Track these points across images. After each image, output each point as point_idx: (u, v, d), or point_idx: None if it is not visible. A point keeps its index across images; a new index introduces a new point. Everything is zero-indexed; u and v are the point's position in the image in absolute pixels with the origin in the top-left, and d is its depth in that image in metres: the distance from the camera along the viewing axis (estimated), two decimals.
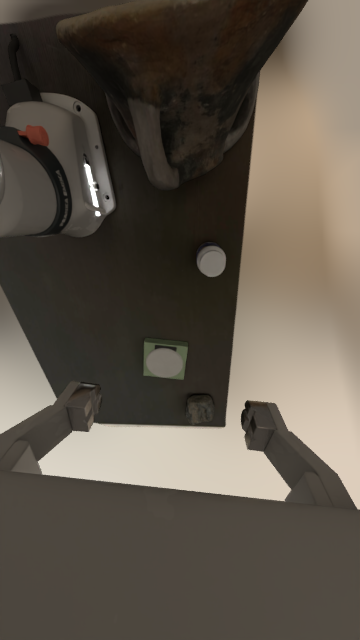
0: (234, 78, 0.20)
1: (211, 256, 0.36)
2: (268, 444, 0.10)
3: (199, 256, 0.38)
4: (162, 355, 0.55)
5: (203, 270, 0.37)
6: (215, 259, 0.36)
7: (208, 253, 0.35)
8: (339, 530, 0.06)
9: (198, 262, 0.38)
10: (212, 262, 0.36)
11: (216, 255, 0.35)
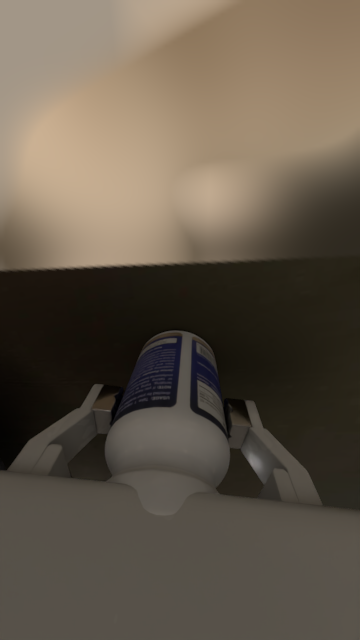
0: None
1: None
2: (244, 441, 0.10)
3: None
4: None
5: None
6: None
7: None
8: (339, 530, 0.06)
9: None
10: None
11: None
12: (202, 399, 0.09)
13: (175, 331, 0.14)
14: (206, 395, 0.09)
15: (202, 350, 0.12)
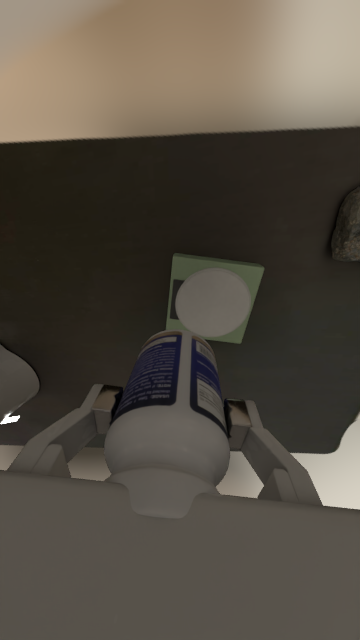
0: None
1: None
2: (244, 441, 0.10)
3: None
4: (191, 308, 0.28)
5: None
6: None
7: None
8: (339, 530, 0.06)
9: None
10: None
11: None
12: (202, 397, 0.09)
13: (175, 330, 0.14)
14: (206, 393, 0.09)
15: (202, 349, 0.12)
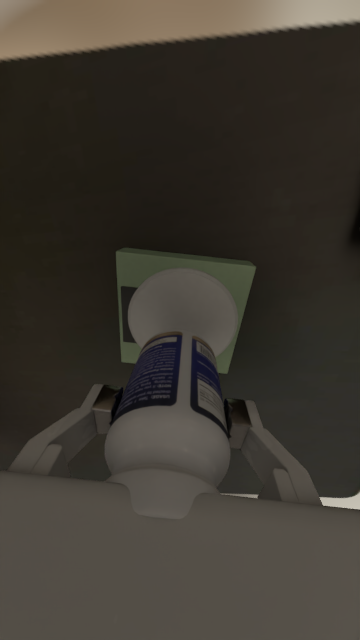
0: None
1: None
2: (244, 441, 0.10)
3: None
4: (150, 327, 0.19)
5: None
6: None
7: None
8: (339, 530, 0.06)
9: None
10: None
11: None
12: (202, 398, 0.09)
13: (175, 330, 0.14)
14: (206, 394, 0.09)
15: (202, 349, 0.12)
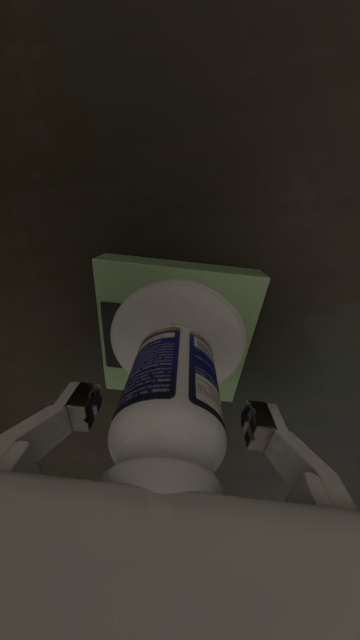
0: None
1: None
2: (268, 444, 0.10)
3: None
4: None
5: None
6: None
7: None
8: (339, 530, 0.06)
9: None
10: None
11: None
12: (200, 391, 0.09)
13: (173, 326, 0.14)
14: (204, 387, 0.10)
15: (199, 344, 0.13)
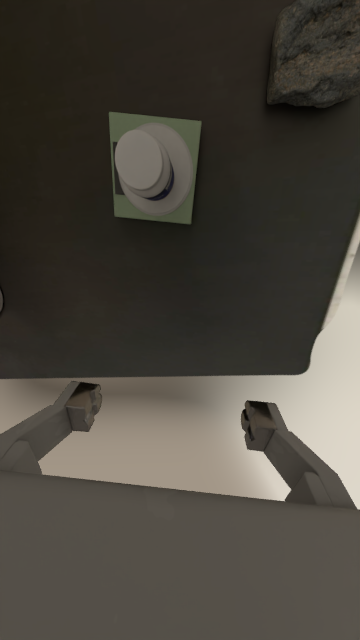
0: None
1: (124, 165, 0.19)
2: (268, 444, 0.10)
3: (137, 192, 0.23)
4: None
5: (151, 180, 0.20)
6: (129, 155, 0.19)
7: (120, 172, 0.20)
8: (339, 530, 0.06)
9: (147, 193, 0.23)
10: (135, 161, 0.19)
11: (121, 153, 0.19)
12: None
13: None
14: None
15: None
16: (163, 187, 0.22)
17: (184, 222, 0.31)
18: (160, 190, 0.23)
